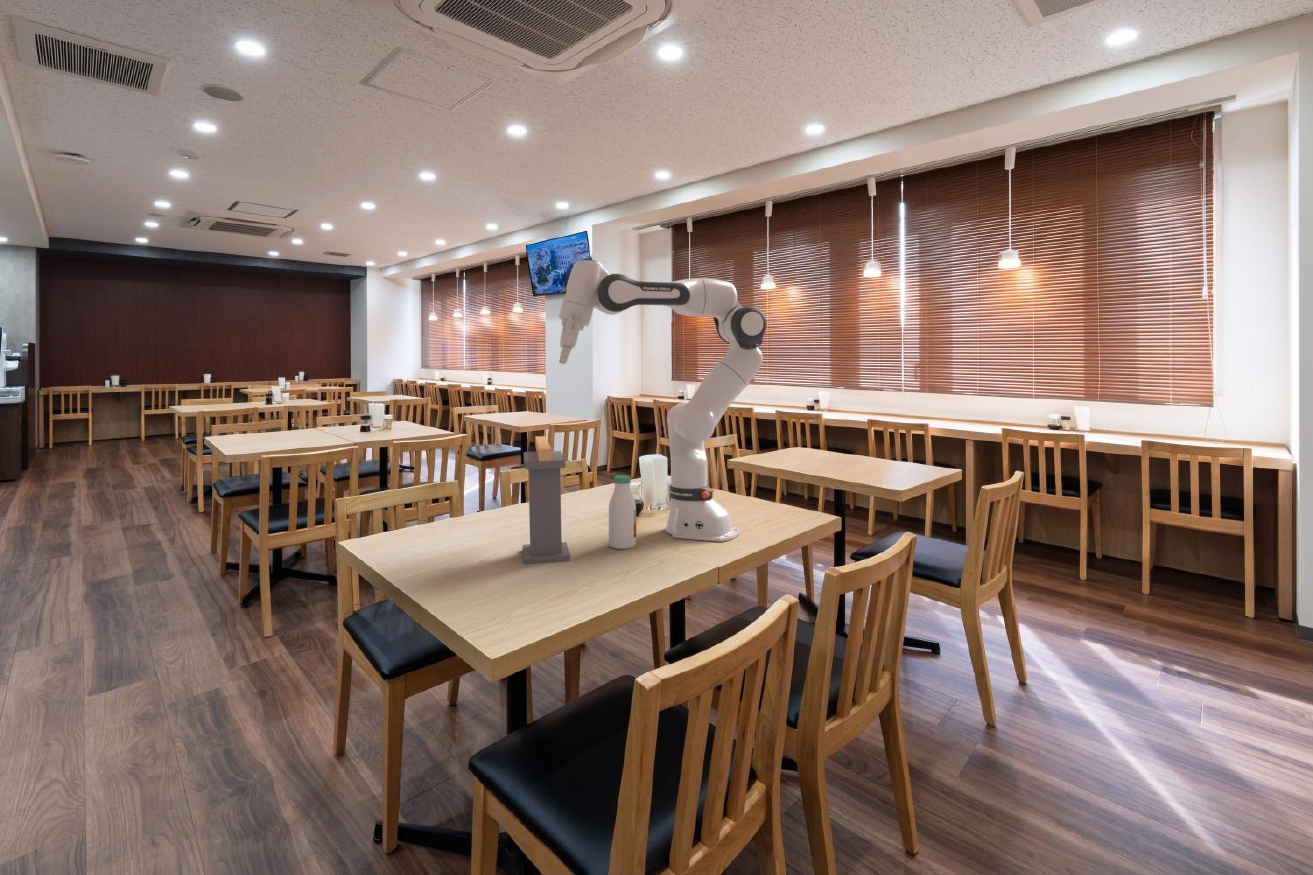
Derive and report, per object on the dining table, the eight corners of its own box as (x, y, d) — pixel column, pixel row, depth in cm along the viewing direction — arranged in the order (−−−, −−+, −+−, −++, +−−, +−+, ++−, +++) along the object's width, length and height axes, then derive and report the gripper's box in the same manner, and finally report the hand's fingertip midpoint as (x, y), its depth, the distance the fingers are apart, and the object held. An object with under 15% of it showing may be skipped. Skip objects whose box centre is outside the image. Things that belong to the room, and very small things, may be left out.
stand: (522, 547, 178) (520, 452, 175) (565, 545, 181) (564, 450, 177) (523, 566, 163) (520, 461, 159) (570, 562, 165) (569, 460, 162)
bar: (535, 446, 185) (535, 436, 185) (545, 446, 186) (545, 436, 186) (539, 461, 160) (538, 449, 160) (551, 460, 161) (551, 448, 160)
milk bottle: (630, 551, 175) (629, 479, 173) (604, 548, 178) (603, 477, 175) (640, 543, 183) (640, 474, 180) (615, 540, 185) (615, 473, 183)
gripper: (588, 315, 171) (575, 365, 172) (583, 322, 191) (571, 366, 192) (565, 308, 170) (552, 358, 171) (562, 316, 190) (550, 361, 191)
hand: (562, 363), depth 181 cm, fingers open, 8 cm apart
